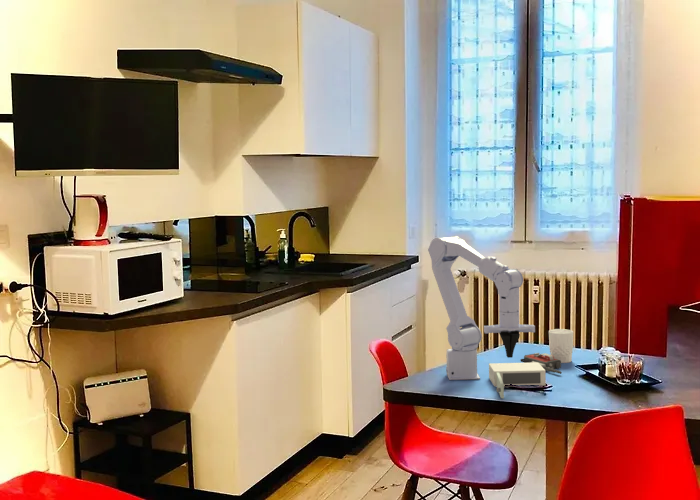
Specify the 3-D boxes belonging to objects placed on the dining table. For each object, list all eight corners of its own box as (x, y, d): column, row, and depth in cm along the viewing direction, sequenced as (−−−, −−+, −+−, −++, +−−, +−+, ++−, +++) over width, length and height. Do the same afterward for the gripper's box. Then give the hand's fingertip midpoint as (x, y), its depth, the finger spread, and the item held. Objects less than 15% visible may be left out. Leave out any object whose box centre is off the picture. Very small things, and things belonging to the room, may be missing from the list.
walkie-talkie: (515, 365, 251) (558, 377, 233) (515, 351, 251) (558, 363, 233) (535, 361, 255) (579, 373, 237) (535, 348, 255) (579, 359, 237)
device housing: (494, 386, 224) (494, 371, 224) (489, 377, 234) (488, 363, 234) (545, 385, 223) (545, 370, 223) (538, 376, 234) (538, 362, 233)
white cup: (578, 361, 252) (578, 331, 251) (562, 364, 248) (562, 334, 247) (559, 357, 259) (559, 328, 258) (543, 360, 254) (543, 331, 253)
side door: (493, 385, 224) (493, 372, 223) (499, 385, 223) (499, 372, 223) (497, 398, 211) (497, 384, 210) (503, 398, 211) (503, 384, 210)
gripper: (486, 313, 218) (486, 360, 219) (537, 312, 218) (537, 359, 219) (482, 309, 225) (483, 354, 226) (531, 308, 225) (531, 353, 226)
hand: (509, 356), depth 223 cm, fingers closed
